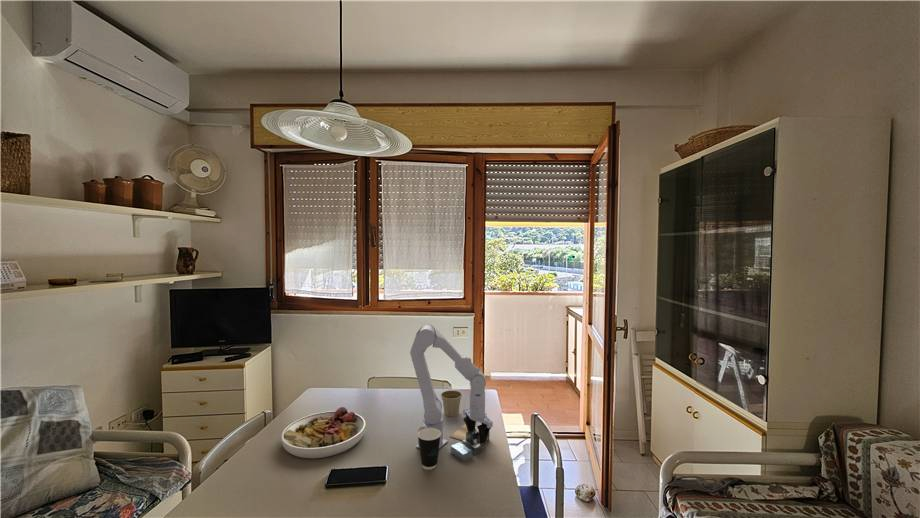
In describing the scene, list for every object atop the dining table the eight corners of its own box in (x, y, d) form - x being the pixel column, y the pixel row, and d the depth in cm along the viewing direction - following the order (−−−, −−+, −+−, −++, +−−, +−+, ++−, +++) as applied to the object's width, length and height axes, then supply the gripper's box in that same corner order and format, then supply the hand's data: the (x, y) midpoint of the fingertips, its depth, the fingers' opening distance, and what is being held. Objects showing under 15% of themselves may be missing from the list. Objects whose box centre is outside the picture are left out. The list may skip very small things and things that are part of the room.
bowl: (341, 467, 127) (340, 444, 127) (262, 457, 133) (262, 435, 133) (378, 426, 157) (378, 407, 156) (312, 419, 163) (312, 401, 162)
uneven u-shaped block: (485, 437, 146) (485, 424, 146) (497, 445, 141) (497, 431, 141) (462, 447, 139) (462, 433, 139) (474, 455, 134) (474, 441, 134)
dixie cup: (424, 456, 133) (424, 425, 133) (445, 462, 130) (445, 430, 130) (413, 469, 126) (413, 436, 125) (434, 474, 123) (434, 441, 122)
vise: (470, 444, 142) (470, 434, 141) (483, 452, 136) (483, 442, 136) (450, 452, 136) (450, 443, 136) (463, 461, 130) (463, 451, 130)
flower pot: (453, 420, 161) (453, 400, 160) (436, 414, 166) (436, 395, 166) (466, 412, 168) (466, 393, 168) (449, 407, 174) (449, 388, 174)
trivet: (470, 443, 142) (470, 442, 142) (449, 437, 147) (449, 436, 147) (486, 429, 153) (486, 428, 153) (466, 423, 158) (466, 422, 158)
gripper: (498, 407, 139) (498, 443, 139) (472, 395, 150) (472, 428, 150) (484, 412, 134) (484, 450, 135) (458, 399, 145) (458, 434, 146)
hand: (477, 439), depth 142 cm, fingers open, 6 cm apart
